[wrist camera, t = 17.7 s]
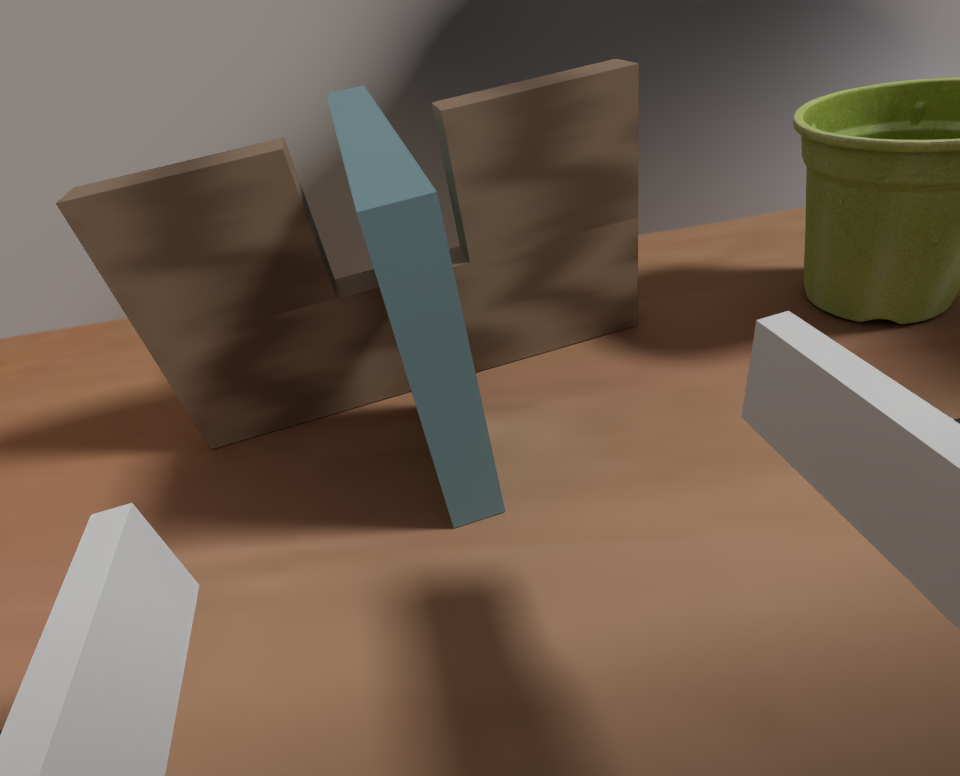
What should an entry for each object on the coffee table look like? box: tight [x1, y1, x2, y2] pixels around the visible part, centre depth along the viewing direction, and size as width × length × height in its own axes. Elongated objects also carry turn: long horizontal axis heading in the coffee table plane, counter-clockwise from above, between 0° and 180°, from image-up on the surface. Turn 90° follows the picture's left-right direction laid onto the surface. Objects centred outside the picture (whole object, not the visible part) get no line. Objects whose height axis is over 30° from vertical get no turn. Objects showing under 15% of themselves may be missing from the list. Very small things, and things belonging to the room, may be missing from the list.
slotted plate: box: [327, 85, 505, 528], centre depth 25 cm, size 2×20×12 cm, turn 15°
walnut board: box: [56, 59, 638, 449], centre depth 25 cm, size 22×2×12 cm, turn 105°
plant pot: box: [793, 78, 960, 324], centre depth 25 cm, size 9×9×9 cm
